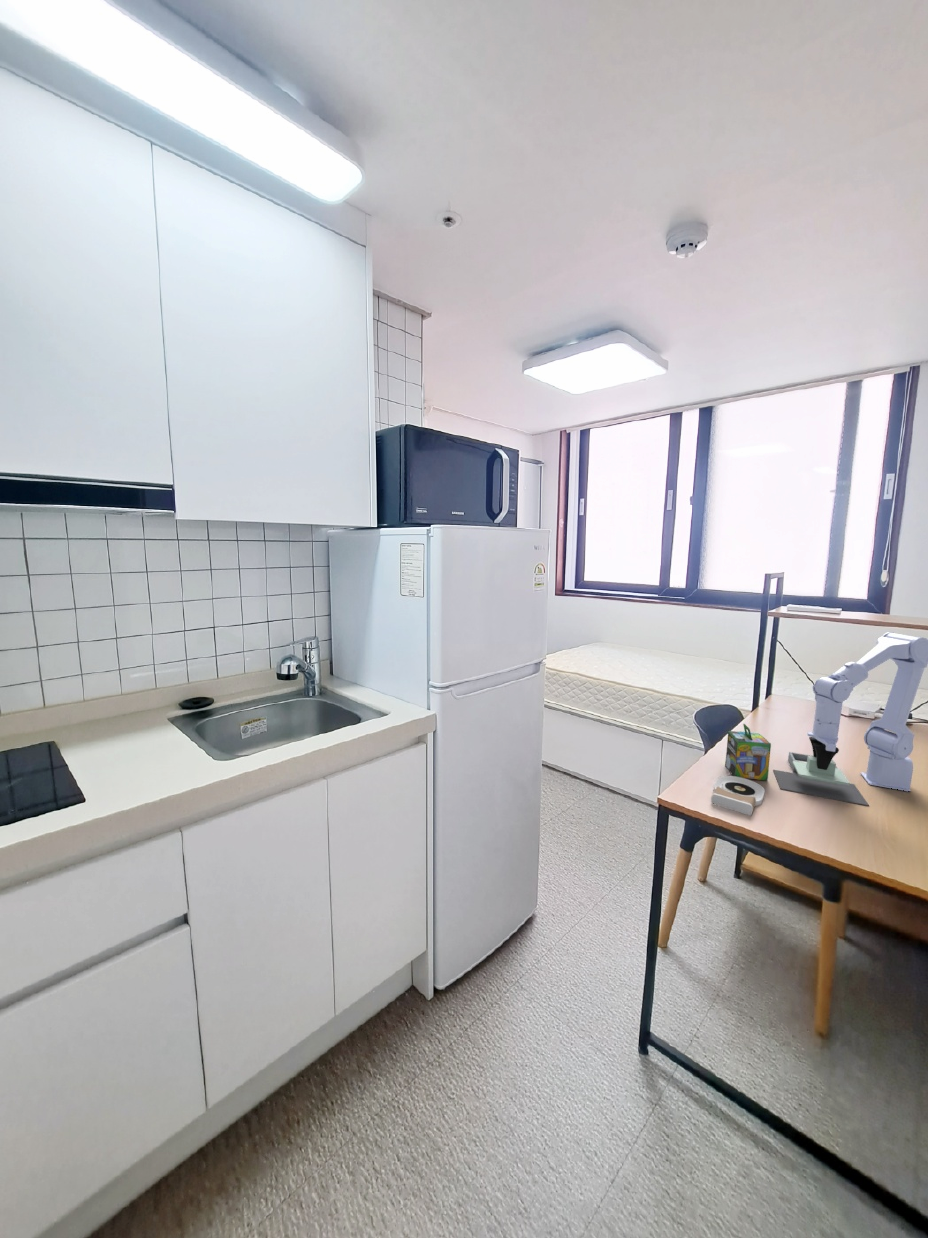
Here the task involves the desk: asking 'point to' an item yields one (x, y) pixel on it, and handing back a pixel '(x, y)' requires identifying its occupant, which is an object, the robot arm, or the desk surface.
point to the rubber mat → (819, 788)
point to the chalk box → (748, 755)
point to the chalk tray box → (797, 759)
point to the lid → (820, 772)
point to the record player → (737, 794)
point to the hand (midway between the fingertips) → (820, 766)
